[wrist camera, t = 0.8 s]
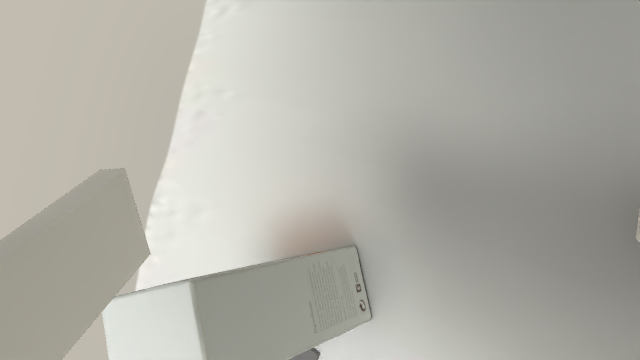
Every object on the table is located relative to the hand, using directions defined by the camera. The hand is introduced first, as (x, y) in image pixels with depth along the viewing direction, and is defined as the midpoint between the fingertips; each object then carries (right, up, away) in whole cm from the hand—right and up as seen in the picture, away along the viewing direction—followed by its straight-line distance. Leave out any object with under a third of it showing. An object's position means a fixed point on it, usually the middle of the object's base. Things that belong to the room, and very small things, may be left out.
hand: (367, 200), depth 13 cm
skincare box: (-1, -6, +16) cm, 17 cm away
